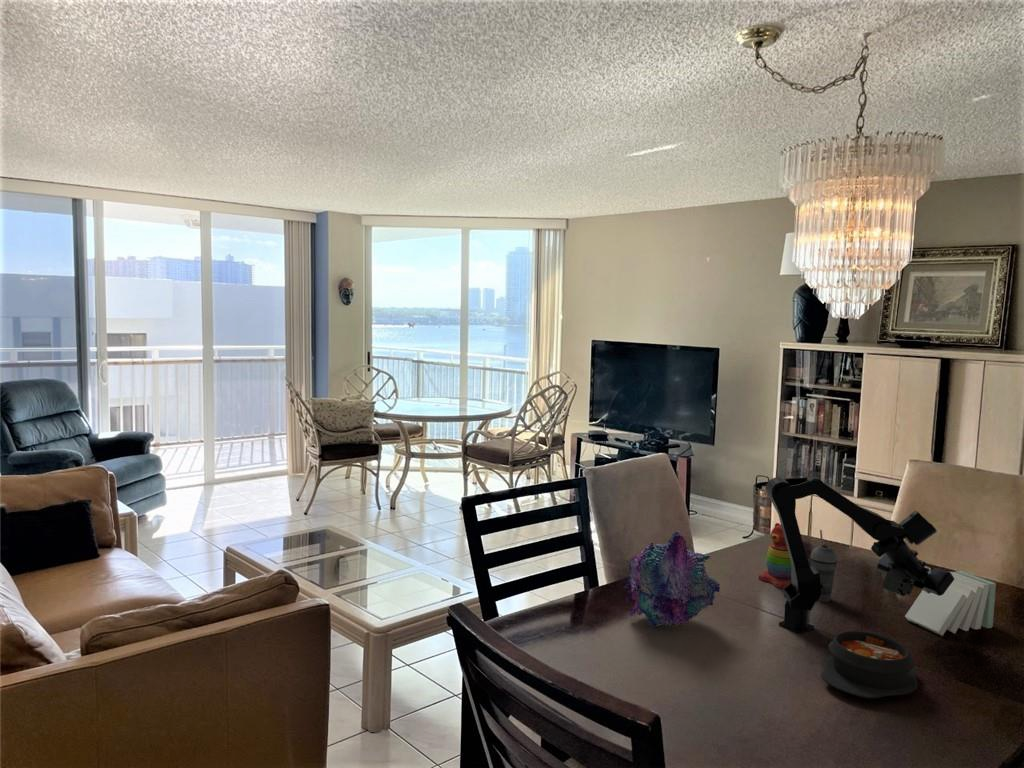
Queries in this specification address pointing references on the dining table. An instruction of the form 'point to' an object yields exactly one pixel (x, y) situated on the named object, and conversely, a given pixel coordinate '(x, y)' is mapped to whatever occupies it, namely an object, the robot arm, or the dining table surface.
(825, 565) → the beverage cup
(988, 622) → the domino
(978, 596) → the domino
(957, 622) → the domino
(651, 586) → the coral
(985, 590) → the domino
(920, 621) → the domino
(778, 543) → the stacking bear
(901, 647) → the casserole
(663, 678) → the dining table surface
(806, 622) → the robot arm
